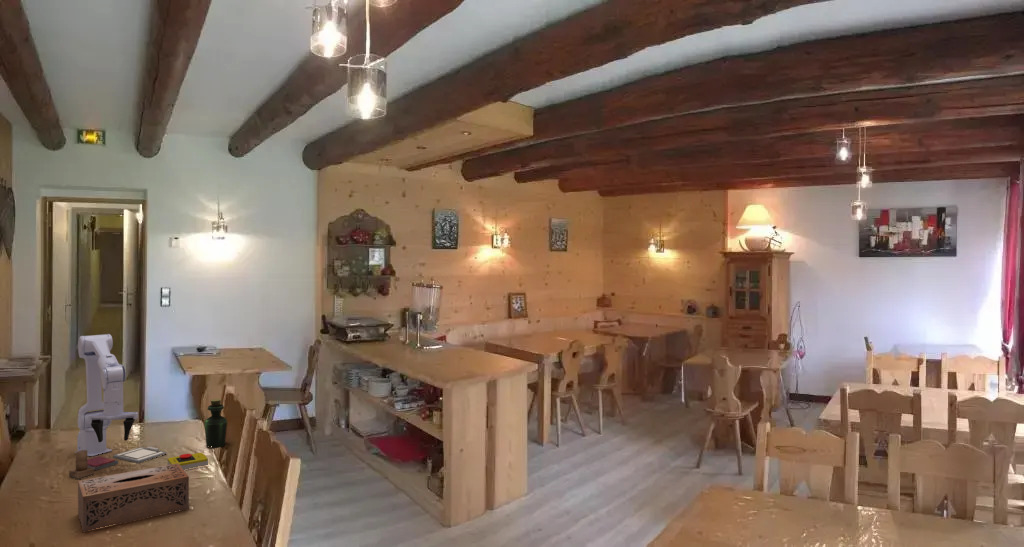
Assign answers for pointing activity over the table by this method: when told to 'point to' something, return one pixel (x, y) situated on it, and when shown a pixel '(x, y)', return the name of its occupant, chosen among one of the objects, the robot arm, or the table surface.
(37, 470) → the table surface
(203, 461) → the emergency button
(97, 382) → the robot arm
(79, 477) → the stamp
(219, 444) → the potion bottle
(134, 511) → the tissue box cover
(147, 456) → the grey white rectangular board
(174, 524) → the table surface
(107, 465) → the ink pad
